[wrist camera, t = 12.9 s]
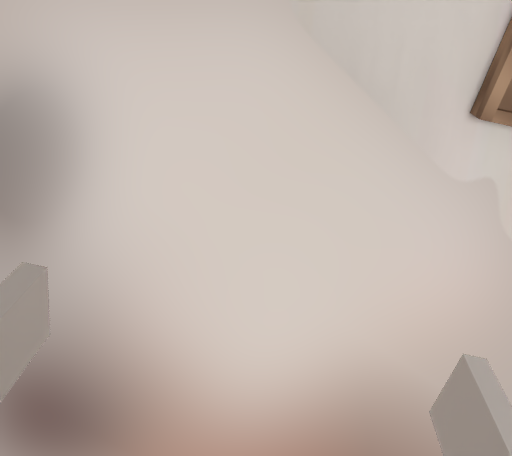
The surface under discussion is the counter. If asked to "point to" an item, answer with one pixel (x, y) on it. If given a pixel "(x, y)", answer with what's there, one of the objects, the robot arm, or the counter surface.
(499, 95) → the walnut tray
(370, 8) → the counter surface
